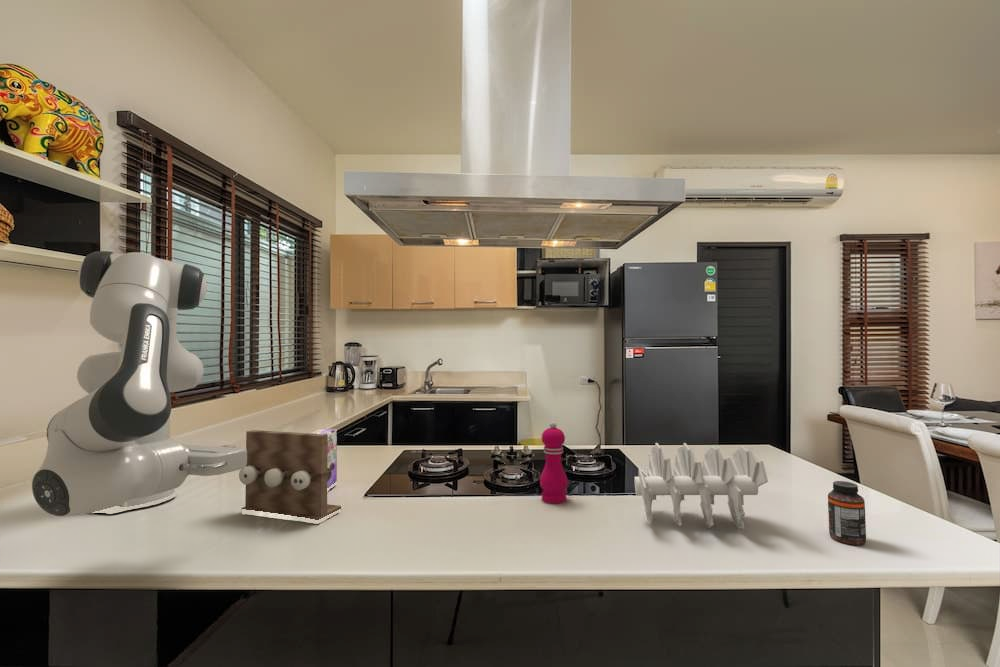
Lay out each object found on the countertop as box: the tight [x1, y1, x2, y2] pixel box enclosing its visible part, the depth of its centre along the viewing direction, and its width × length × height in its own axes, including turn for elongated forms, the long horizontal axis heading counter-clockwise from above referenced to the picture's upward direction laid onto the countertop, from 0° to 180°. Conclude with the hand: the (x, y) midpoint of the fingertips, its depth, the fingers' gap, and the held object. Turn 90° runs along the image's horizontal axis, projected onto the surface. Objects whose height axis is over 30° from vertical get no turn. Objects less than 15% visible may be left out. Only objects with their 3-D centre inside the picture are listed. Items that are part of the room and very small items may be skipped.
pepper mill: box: [539, 421, 569, 504], centre depth 116 cm, size 7×7×20 cm
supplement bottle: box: [827, 480, 867, 546], centre depth 91 cm, size 6×6×11 cm
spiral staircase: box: [633, 442, 769, 530], centre depth 100 cm, size 18×18×25 cm
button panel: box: [241, 429, 342, 520], centre depth 108 cm, size 22×8×20 cm, turn 72°
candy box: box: [309, 428, 338, 488], centre depth 123 cm, size 14×6×16 cm, turn 179°
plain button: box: [264, 468, 286, 487], centre depth 104 cm, size 4×6×4 cm
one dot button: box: [238, 466, 261, 486], centre depth 107 cm, size 4×6×4 cm
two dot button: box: [291, 470, 312, 490], centre depth 102 cm, size 4×6×4 cm
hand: (230, 449), depth 92 cm, fingers closed
